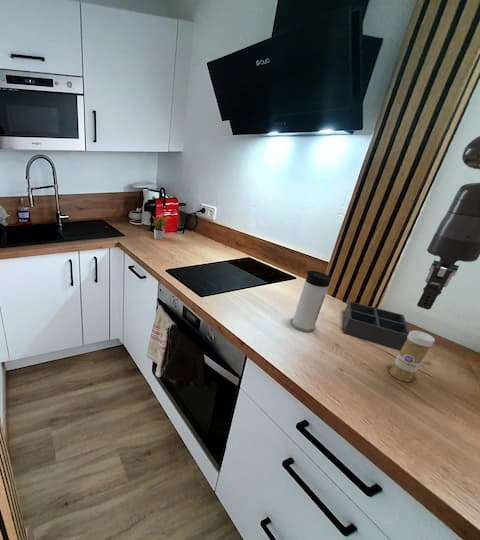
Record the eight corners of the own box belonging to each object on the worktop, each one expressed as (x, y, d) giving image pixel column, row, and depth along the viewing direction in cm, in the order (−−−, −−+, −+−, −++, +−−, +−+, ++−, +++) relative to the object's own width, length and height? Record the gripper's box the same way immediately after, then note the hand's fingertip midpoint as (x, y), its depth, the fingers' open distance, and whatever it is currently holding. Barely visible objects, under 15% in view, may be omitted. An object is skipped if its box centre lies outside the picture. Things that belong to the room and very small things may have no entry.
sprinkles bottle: (388, 376, 76) (410, 335, 71) (388, 367, 79) (409, 327, 74) (412, 385, 73) (436, 343, 68) (410, 375, 77) (434, 334, 71)
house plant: (174, 242, 179) (177, 216, 172) (154, 243, 175) (156, 217, 169) (165, 235, 192) (167, 211, 185) (146, 236, 188) (147, 212, 181)
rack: (396, 328, 97) (403, 314, 95) (403, 351, 86) (411, 336, 84) (343, 314, 105) (348, 300, 103) (343, 333, 94) (349, 318, 92)
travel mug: (288, 320, 100) (304, 268, 92) (308, 323, 99) (327, 270, 91) (294, 330, 94) (312, 276, 86) (316, 333, 93) (336, 278, 85)
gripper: (487, 246, 53) (445, 319, 60) (489, 234, 62) (452, 299, 68) (431, 236, 58) (398, 304, 65) (439, 226, 67) (409, 287, 73)
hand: (425, 302), depth 67 cm, fingers open, 8 cm apart
